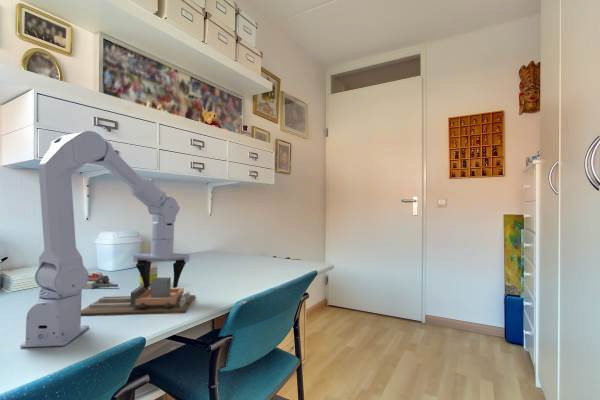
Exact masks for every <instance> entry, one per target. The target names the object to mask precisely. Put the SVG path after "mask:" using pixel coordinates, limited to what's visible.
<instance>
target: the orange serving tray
mask: <svg viewBox="0 0 600 400" xmlns="http://www.w3.org/2000/svg"><path fill="white" fill-rule="evenodd" d="M184 289H185V288H183V287H180V288H179V287H176V288H173V287H172V288H171V287H170V296H169V297H168V298H151V288H144V284H142V285H141V286H140V285H139V286H138V287H136V288H135V289H134V290H132V291H130V296H131V300H130V305H139V309H143V308H144V307H145V305H163V304H165V305H164V307H165V308H166V309H168V308H169V307H170V306H171V304H176V302H177V301H178V300H179V299H180V297H181V296H182V295H184V294H185V292H184V291H185V290H184Z"/></svg>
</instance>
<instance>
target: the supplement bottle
mask: <svg viewBox="0 0 600 400" xmlns="http://www.w3.org/2000/svg"><path fill="white" fill-rule="evenodd" d="M155 278H158V263H157V262H156V261H151V267H150V285H149V287H148V289H151V281H152V280H154V279H155ZM142 284H144V283H143V280H142V277H141V274H140V273H139V286H141V285H142Z"/></svg>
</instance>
